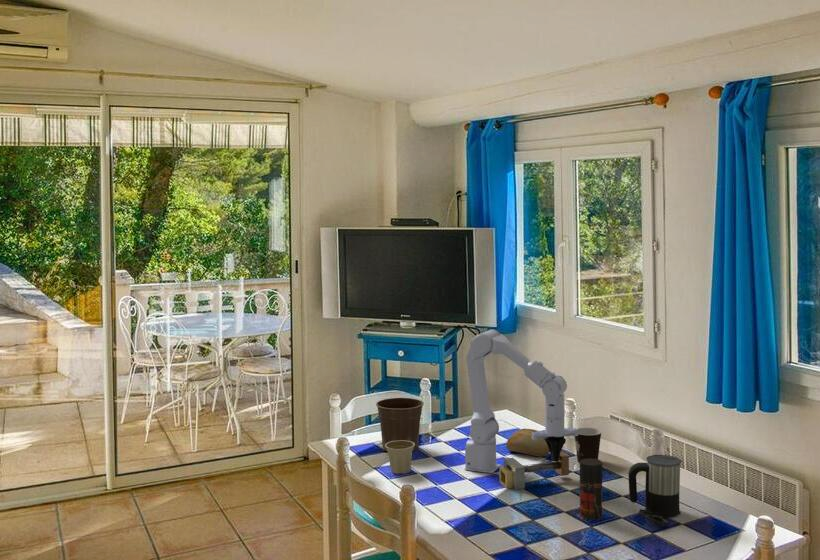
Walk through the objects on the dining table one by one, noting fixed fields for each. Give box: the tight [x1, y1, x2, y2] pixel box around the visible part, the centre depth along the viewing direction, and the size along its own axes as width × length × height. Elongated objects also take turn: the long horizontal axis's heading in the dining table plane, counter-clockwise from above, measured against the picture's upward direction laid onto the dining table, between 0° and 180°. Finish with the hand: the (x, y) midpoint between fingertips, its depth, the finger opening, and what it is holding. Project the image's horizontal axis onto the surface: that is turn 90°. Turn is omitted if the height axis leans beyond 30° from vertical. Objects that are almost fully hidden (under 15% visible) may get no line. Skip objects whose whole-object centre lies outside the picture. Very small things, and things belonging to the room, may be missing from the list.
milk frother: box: [628, 454, 683, 527], centre depth 230 cm, size 14×16×15 cm
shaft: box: [522, 451, 570, 477], centre depth 261 cm, size 16×4×6 cm, turn 105°
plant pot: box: [375, 397, 425, 452], centre depth 295 cm, size 16×16×16 cm
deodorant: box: [579, 458, 603, 521], centre depth 232 cm, size 6×6×15 cm
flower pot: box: [385, 440, 415, 475], centre depth 272 cm, size 9×9×9 cm
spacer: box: [498, 465, 514, 489], centre depth 258 cm, size 2×6×5 cm, turn 15°
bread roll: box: [505, 428, 550, 458], centre depth 287 cm, size 10×15×8 cm, turn 61°
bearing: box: [503, 457, 526, 490], centre depth 258 cm, size 3×9×6 cm, turn 15°
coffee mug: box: [574, 427, 602, 464], centre depth 279 cm, size 12×9×10 cm
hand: (555, 460), depth 262 cm, fingers closed
